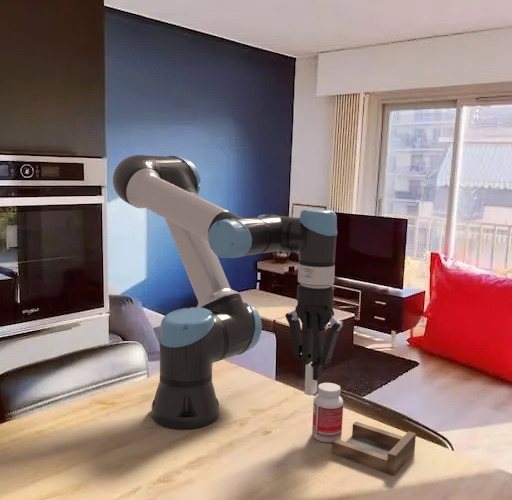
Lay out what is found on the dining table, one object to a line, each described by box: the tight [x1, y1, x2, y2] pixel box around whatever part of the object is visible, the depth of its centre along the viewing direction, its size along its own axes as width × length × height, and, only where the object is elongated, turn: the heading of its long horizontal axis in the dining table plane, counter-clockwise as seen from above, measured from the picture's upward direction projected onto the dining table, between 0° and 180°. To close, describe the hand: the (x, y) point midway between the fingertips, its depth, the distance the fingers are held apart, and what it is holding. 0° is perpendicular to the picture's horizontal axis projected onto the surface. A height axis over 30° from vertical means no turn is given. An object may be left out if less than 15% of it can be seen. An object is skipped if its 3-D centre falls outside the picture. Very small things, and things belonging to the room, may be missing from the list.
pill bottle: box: [311, 382, 344, 444], centre depth 114 cm, size 6×6×11 cm
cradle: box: [331, 421, 417, 477], centre depth 109 cm, size 13×11×4 cm
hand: (310, 392), depth 116 cm, fingers closed
